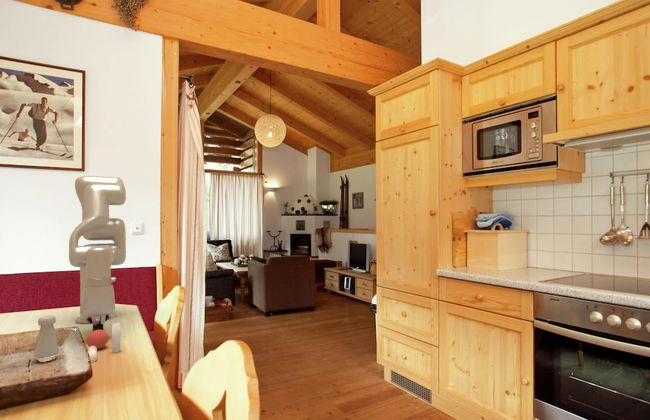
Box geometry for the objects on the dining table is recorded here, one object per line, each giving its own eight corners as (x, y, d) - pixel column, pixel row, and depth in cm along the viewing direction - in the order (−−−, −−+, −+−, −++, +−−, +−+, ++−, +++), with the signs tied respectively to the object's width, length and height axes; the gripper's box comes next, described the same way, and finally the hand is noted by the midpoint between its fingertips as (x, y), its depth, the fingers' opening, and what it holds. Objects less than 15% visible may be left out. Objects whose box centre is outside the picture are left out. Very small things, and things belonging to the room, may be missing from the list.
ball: (88, 351, 117) (91, 353, 122) (109, 342, 120) (111, 345, 125) (83, 332, 119) (86, 336, 124) (104, 324, 122) (106, 328, 127)
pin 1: (97, 352, 118) (97, 361, 111) (88, 354, 117) (87, 363, 110) (96, 344, 118) (96, 353, 111) (87, 346, 117) (87, 355, 110)
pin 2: (111, 351, 119) (111, 324, 119) (119, 349, 121) (119, 322, 121) (112, 353, 117) (112, 325, 118) (121, 351, 119) (121, 324, 119)
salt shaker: (45, 364, 109) (45, 319, 109) (29, 363, 110) (29, 318, 110) (63, 357, 114) (63, 314, 115) (47, 355, 116) (48, 313, 116)
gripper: (120, 279, 139) (119, 329, 139) (71, 283, 129) (70, 337, 129) (124, 281, 133) (124, 333, 133) (74, 286, 124) (73, 342, 123)
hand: (97, 335), depth 131 cm, fingers closed
